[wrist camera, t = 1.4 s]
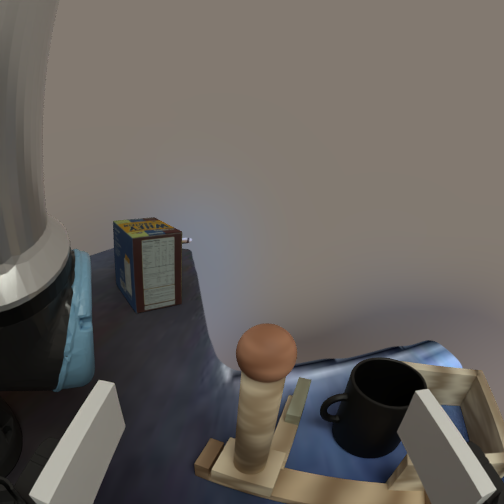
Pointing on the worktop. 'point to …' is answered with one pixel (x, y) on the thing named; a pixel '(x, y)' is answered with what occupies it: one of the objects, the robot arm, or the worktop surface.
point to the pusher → (262, 411)
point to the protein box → (148, 263)
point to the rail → (314, 486)
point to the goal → (474, 412)
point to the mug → (373, 406)
